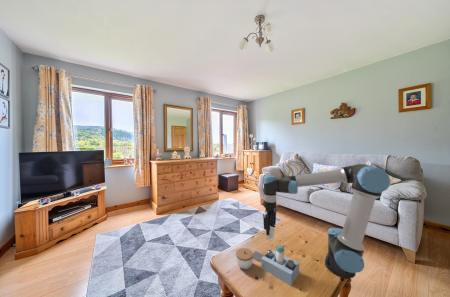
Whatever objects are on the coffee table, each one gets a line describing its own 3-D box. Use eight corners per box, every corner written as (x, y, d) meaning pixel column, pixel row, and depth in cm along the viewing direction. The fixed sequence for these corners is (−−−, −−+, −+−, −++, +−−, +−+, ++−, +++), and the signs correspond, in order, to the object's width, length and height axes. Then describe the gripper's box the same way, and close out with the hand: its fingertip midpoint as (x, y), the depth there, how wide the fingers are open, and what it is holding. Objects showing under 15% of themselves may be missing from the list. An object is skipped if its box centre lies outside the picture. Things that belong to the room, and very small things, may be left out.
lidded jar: (247, 275, 93) (247, 258, 93) (232, 266, 100) (232, 251, 100) (256, 264, 102) (256, 249, 101) (242, 257, 109) (242, 243, 108)
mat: (264, 256, 109) (264, 255, 109) (259, 261, 104) (259, 260, 104) (255, 251, 114) (255, 251, 114) (250, 256, 109) (250, 255, 109)
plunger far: (273, 258, 101) (273, 251, 101) (270, 261, 99) (270, 253, 99) (268, 256, 103) (268, 249, 103) (266, 258, 101) (266, 251, 101)
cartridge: (285, 266, 97) (285, 247, 97) (282, 270, 93) (282, 251, 93) (278, 262, 100) (278, 244, 100) (274, 266, 97) (274, 247, 97)
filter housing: (271, 258, 107) (271, 249, 107) (299, 273, 95) (299, 262, 95) (261, 268, 99) (261, 258, 99) (290, 285, 86) (291, 274, 86)
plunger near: (294, 269, 92) (294, 261, 92) (292, 272, 90) (292, 264, 90) (289, 266, 94) (289, 259, 94) (287, 269, 92) (287, 261, 92)
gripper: (270, 196, 109) (270, 231, 110) (257, 202, 98) (257, 241, 98) (281, 199, 104) (281, 235, 104) (268, 205, 93) (268, 246, 93)
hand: (269, 238), depth 101 cm, fingers open, 3 cm apart
